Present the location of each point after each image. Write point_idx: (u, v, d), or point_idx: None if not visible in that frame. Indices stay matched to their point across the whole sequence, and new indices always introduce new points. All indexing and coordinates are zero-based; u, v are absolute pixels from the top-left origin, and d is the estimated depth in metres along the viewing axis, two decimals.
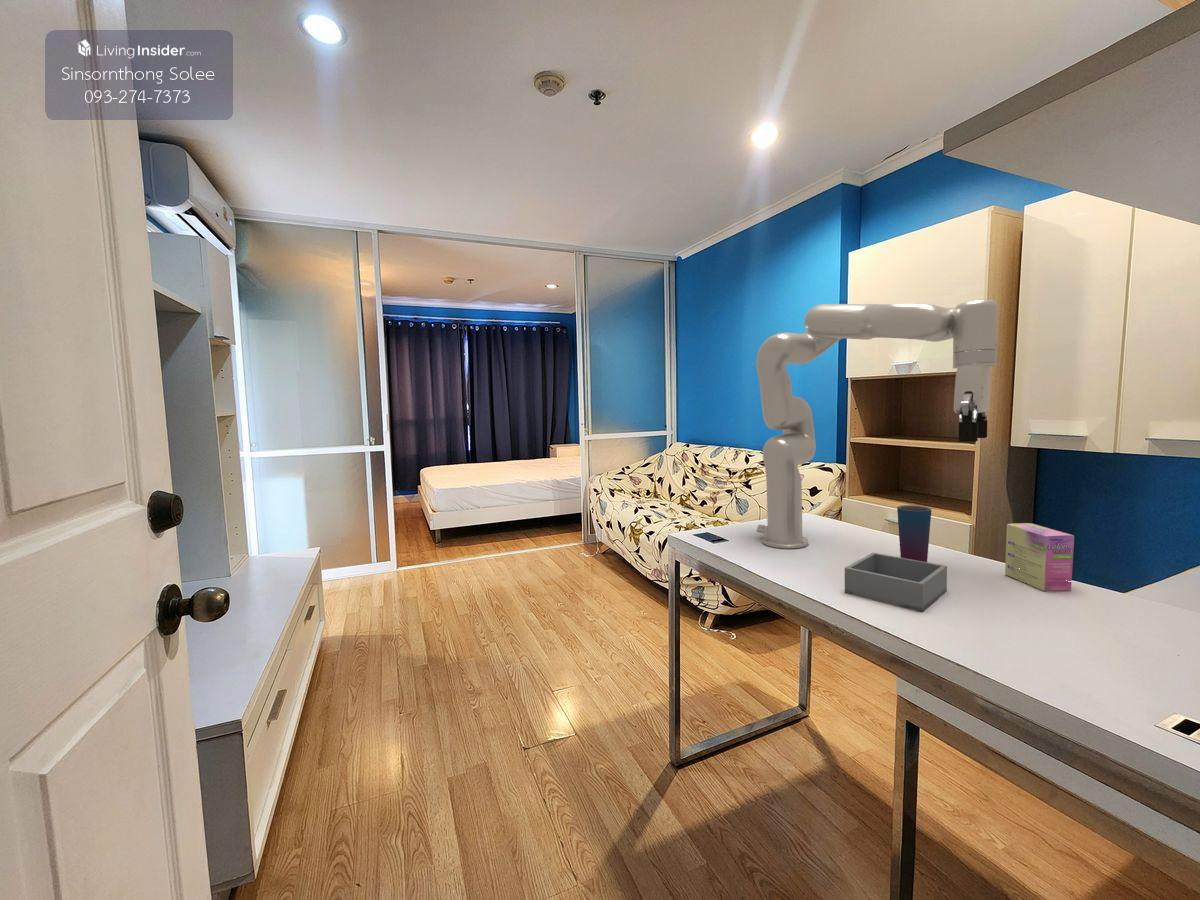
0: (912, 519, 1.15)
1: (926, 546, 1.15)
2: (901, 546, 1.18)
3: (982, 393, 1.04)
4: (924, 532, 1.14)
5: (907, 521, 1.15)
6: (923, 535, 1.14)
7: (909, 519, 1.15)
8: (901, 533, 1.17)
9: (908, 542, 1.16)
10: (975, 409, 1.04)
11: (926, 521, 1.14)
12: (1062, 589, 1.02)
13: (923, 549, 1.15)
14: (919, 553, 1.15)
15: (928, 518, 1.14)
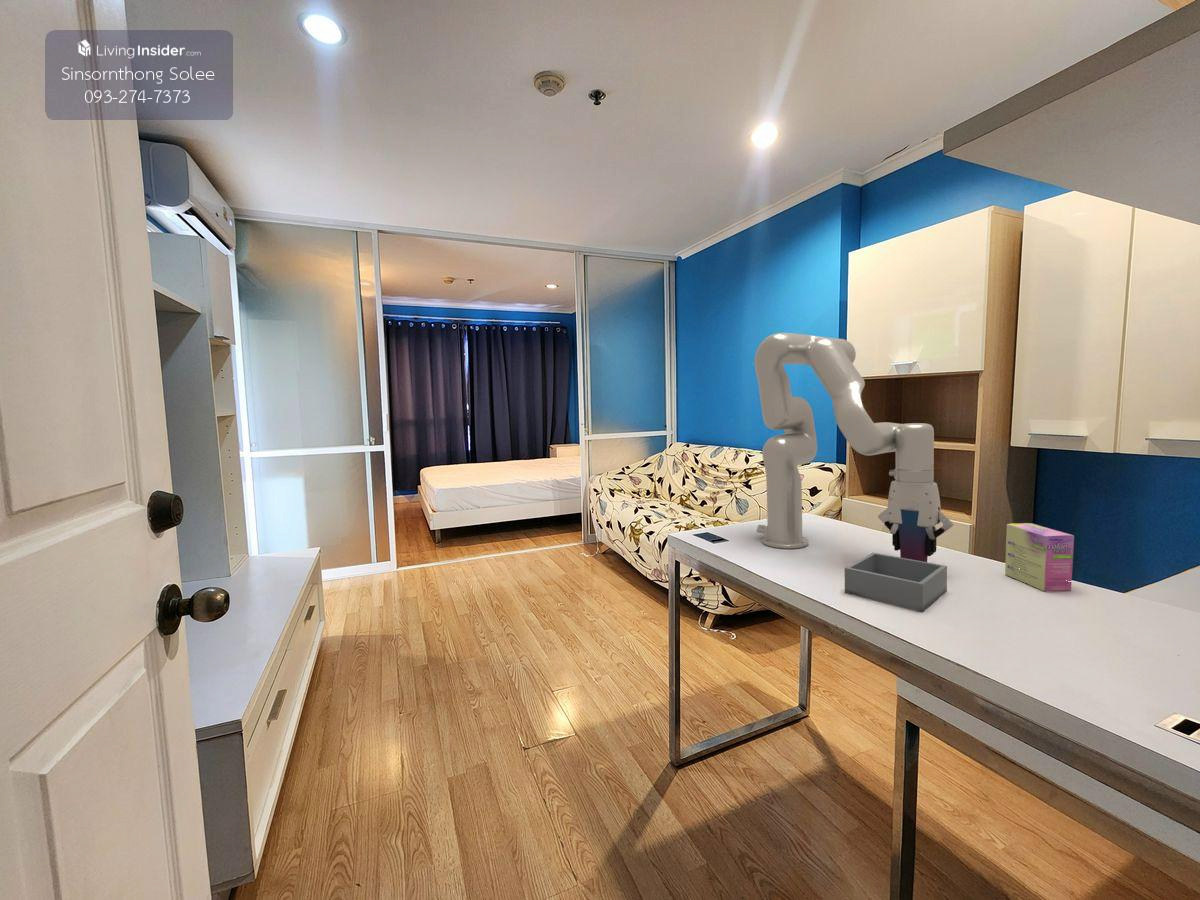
0: (912, 519, 1.15)
1: None
2: (901, 546, 1.18)
3: None
4: (924, 532, 1.14)
5: (907, 521, 1.15)
6: (923, 535, 1.14)
7: (909, 519, 1.15)
8: (901, 533, 1.17)
9: (908, 542, 1.16)
10: None
11: None
12: (1062, 589, 1.02)
13: (923, 549, 1.15)
14: (919, 553, 1.15)
15: None
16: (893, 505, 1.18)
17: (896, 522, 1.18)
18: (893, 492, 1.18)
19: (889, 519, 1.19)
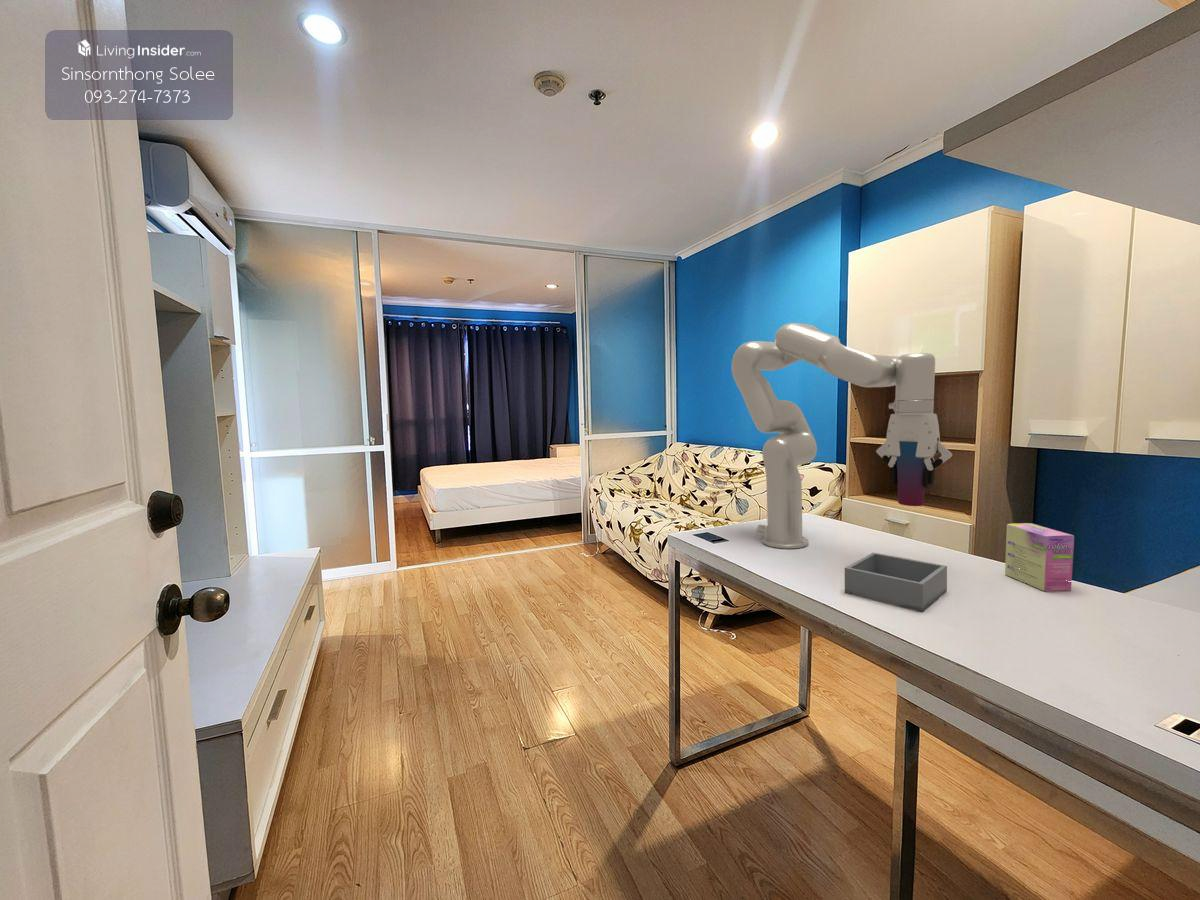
0: (910, 450, 1.13)
1: None
2: (899, 479, 1.17)
3: None
4: (922, 463, 1.13)
5: (906, 453, 1.14)
6: (921, 466, 1.13)
7: (908, 450, 1.14)
8: (899, 466, 1.16)
9: (906, 474, 1.15)
10: (932, 456, 1.14)
11: None
12: (1062, 589, 1.02)
13: (921, 481, 1.14)
14: (917, 485, 1.14)
15: None
16: (892, 437, 1.17)
17: (894, 454, 1.17)
18: (892, 424, 1.16)
19: (887, 452, 1.18)
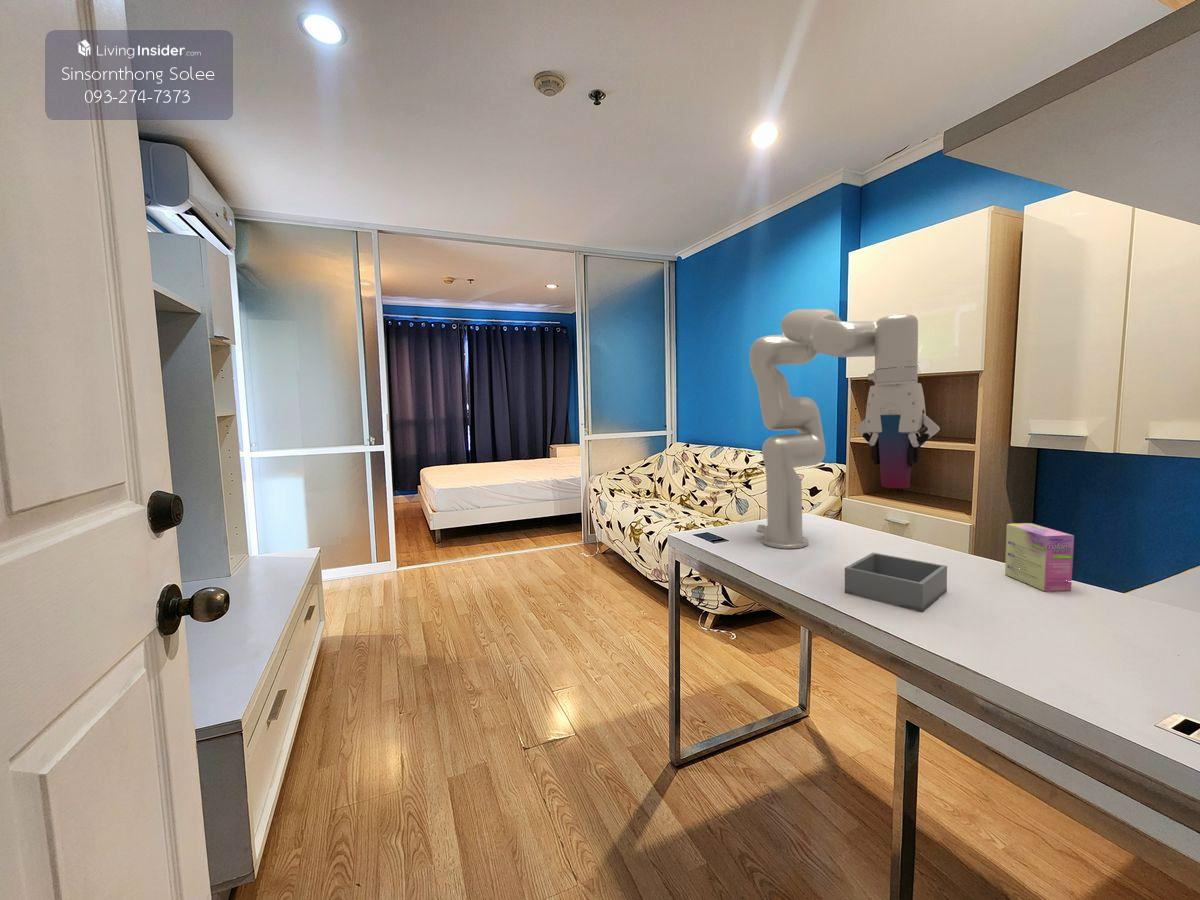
0: (893, 425, 1.00)
1: None
2: (881, 458, 1.04)
3: None
4: (907, 439, 1.00)
5: (888, 428, 1.01)
6: (905, 443, 1.00)
7: (890, 425, 1.01)
8: (881, 443, 1.03)
9: (889, 452, 1.02)
10: (918, 431, 1.01)
11: None
12: (1062, 589, 1.02)
13: (905, 459, 1.01)
14: (901, 464, 1.01)
15: None
16: (872, 411, 1.03)
17: (875, 431, 1.03)
18: (872, 397, 1.03)
19: (867, 428, 1.04)
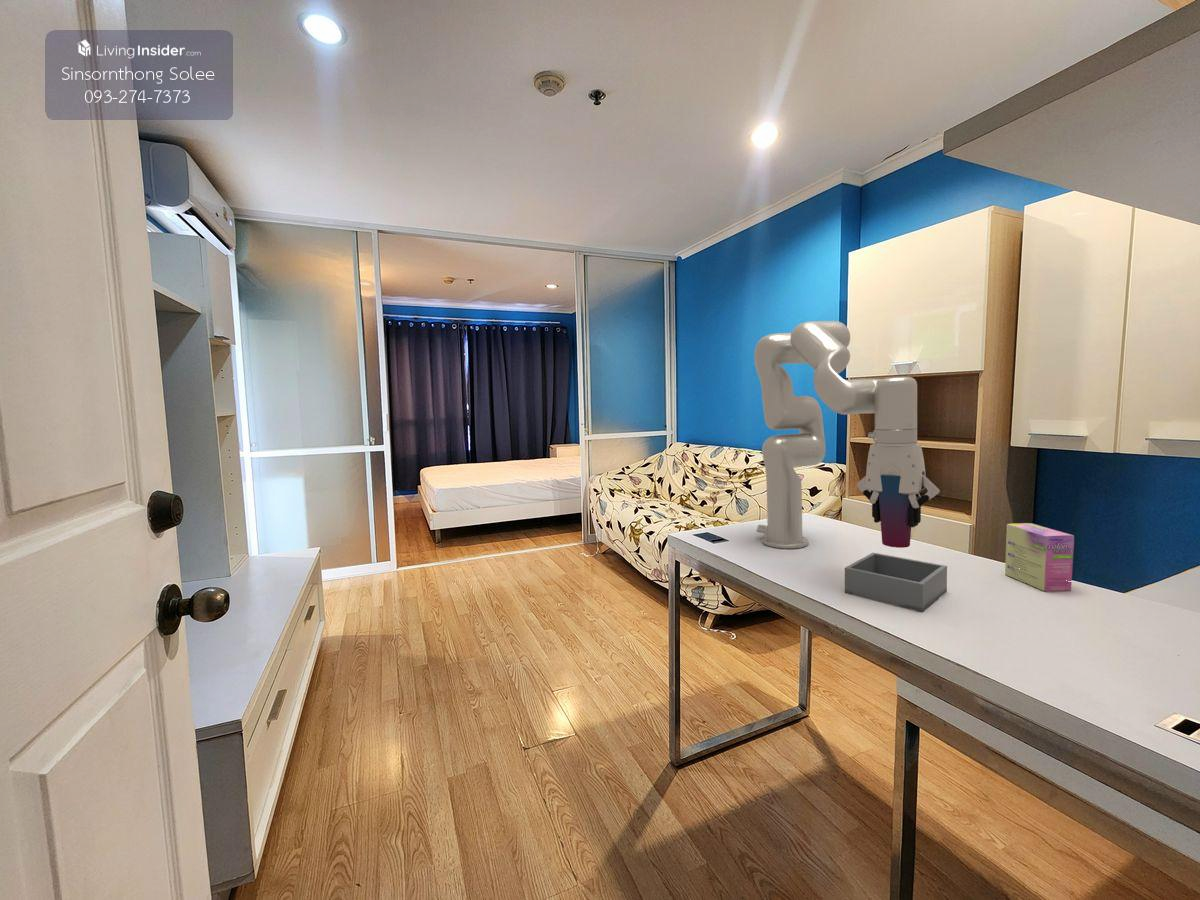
0: (893, 485, 1.01)
1: None
2: (881, 517, 1.04)
3: None
4: (907, 500, 1.01)
5: (888, 488, 1.02)
6: (906, 503, 1.01)
7: (890, 485, 1.01)
8: (881, 502, 1.04)
9: (889, 512, 1.02)
10: (918, 492, 1.02)
11: None
12: (1062, 589, 1.02)
13: (906, 519, 1.02)
14: (901, 524, 1.02)
15: None
16: (872, 471, 1.04)
17: (876, 490, 1.04)
18: (872, 456, 1.04)
19: (868, 487, 1.05)
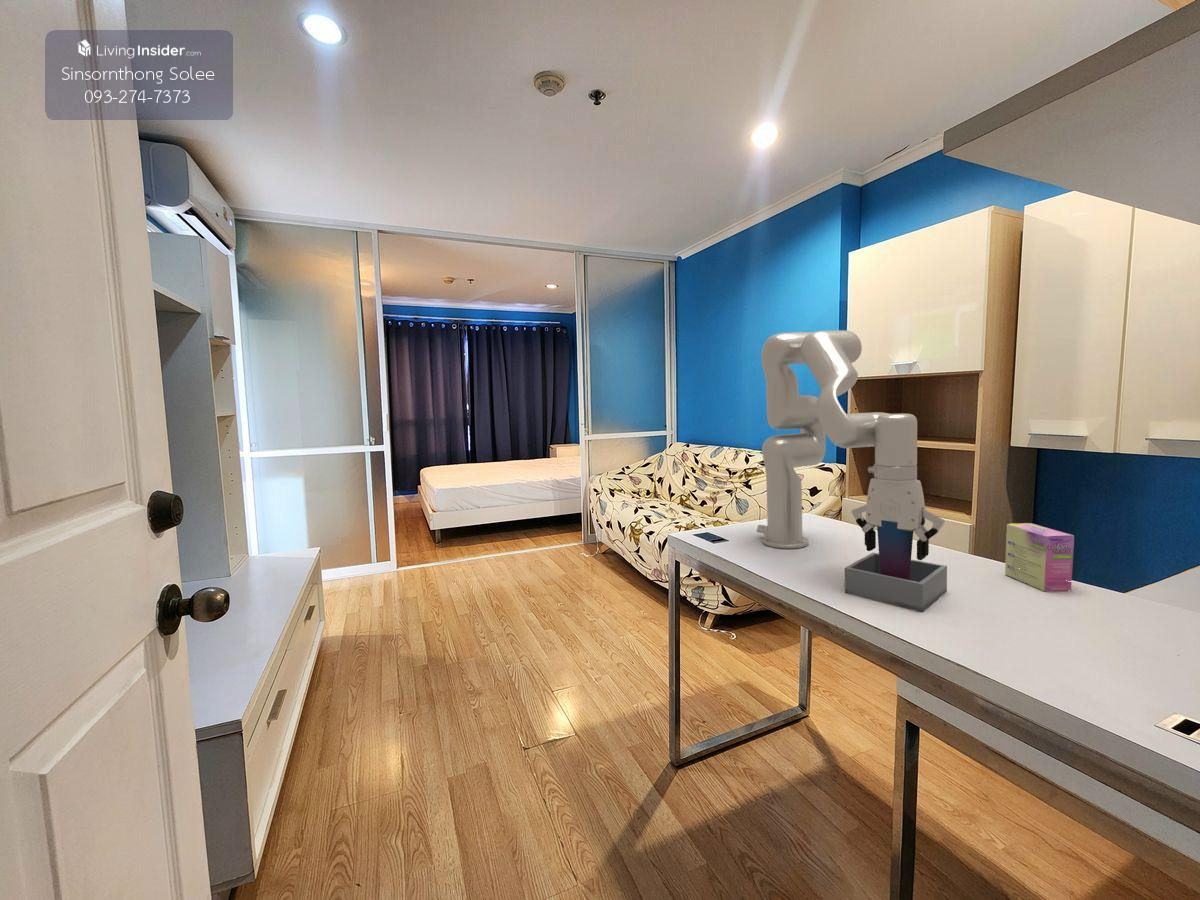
0: (892, 531, 1.02)
1: (908, 561, 1.03)
2: (881, 561, 1.06)
3: None
4: (906, 546, 1.02)
5: (887, 534, 1.03)
6: (905, 549, 1.02)
7: (889, 531, 1.03)
8: (881, 547, 1.05)
9: (888, 557, 1.03)
10: (922, 524, 1.02)
11: (908, 533, 1.02)
12: (1062, 589, 1.02)
13: (905, 565, 1.03)
14: (900, 569, 1.03)
15: None
16: (872, 505, 1.05)
17: (875, 524, 1.05)
18: (872, 491, 1.05)
19: (868, 521, 1.06)
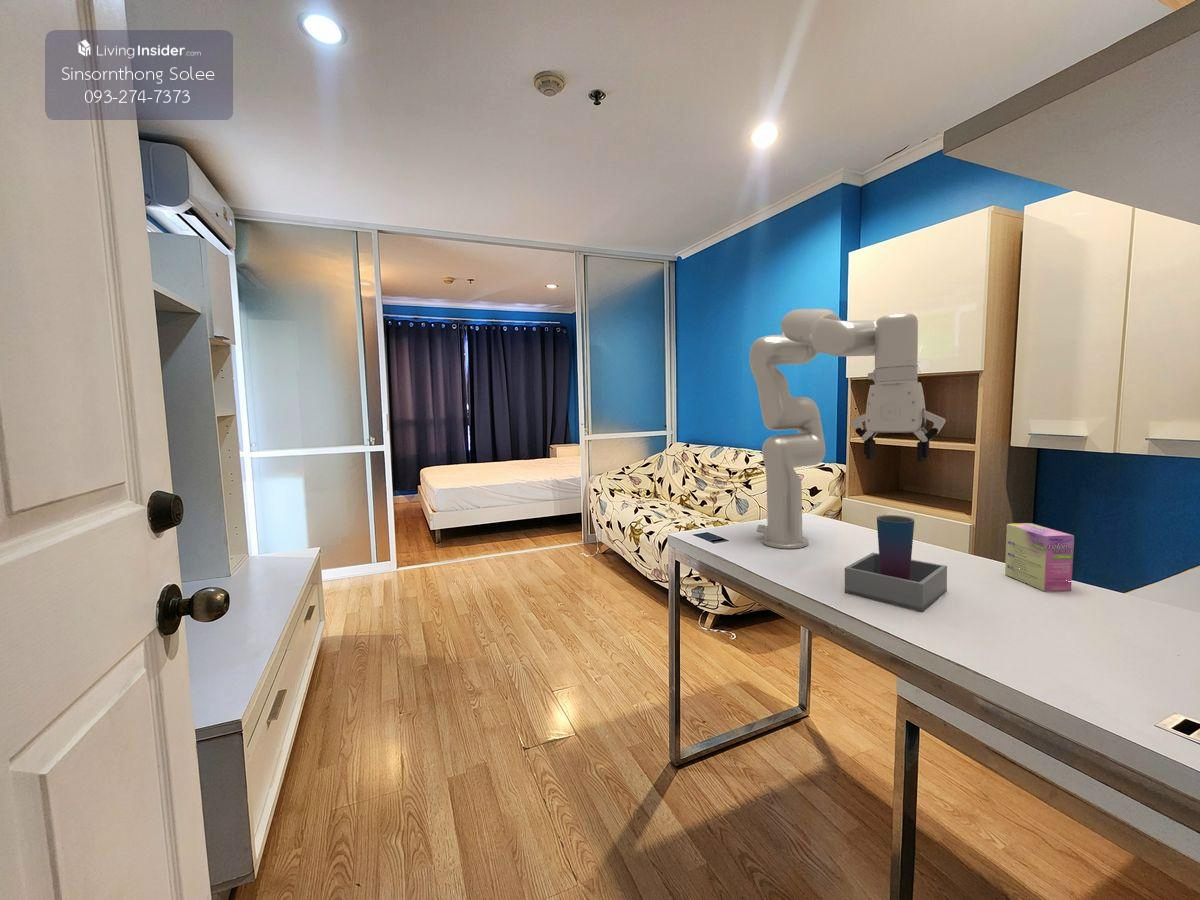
0: (892, 531, 1.02)
1: (908, 561, 1.03)
2: (881, 561, 1.05)
3: None
4: (906, 546, 1.02)
5: (888, 534, 1.03)
6: (905, 549, 1.02)
7: (890, 531, 1.02)
8: (881, 547, 1.05)
9: (888, 557, 1.03)
10: (922, 427, 1.00)
11: (908, 534, 1.02)
12: (1062, 589, 1.02)
13: (905, 565, 1.03)
14: (900, 569, 1.03)
15: (910, 530, 1.02)
16: (872, 411, 1.03)
17: (875, 430, 1.03)
18: (872, 396, 1.03)
19: (867, 428, 1.04)
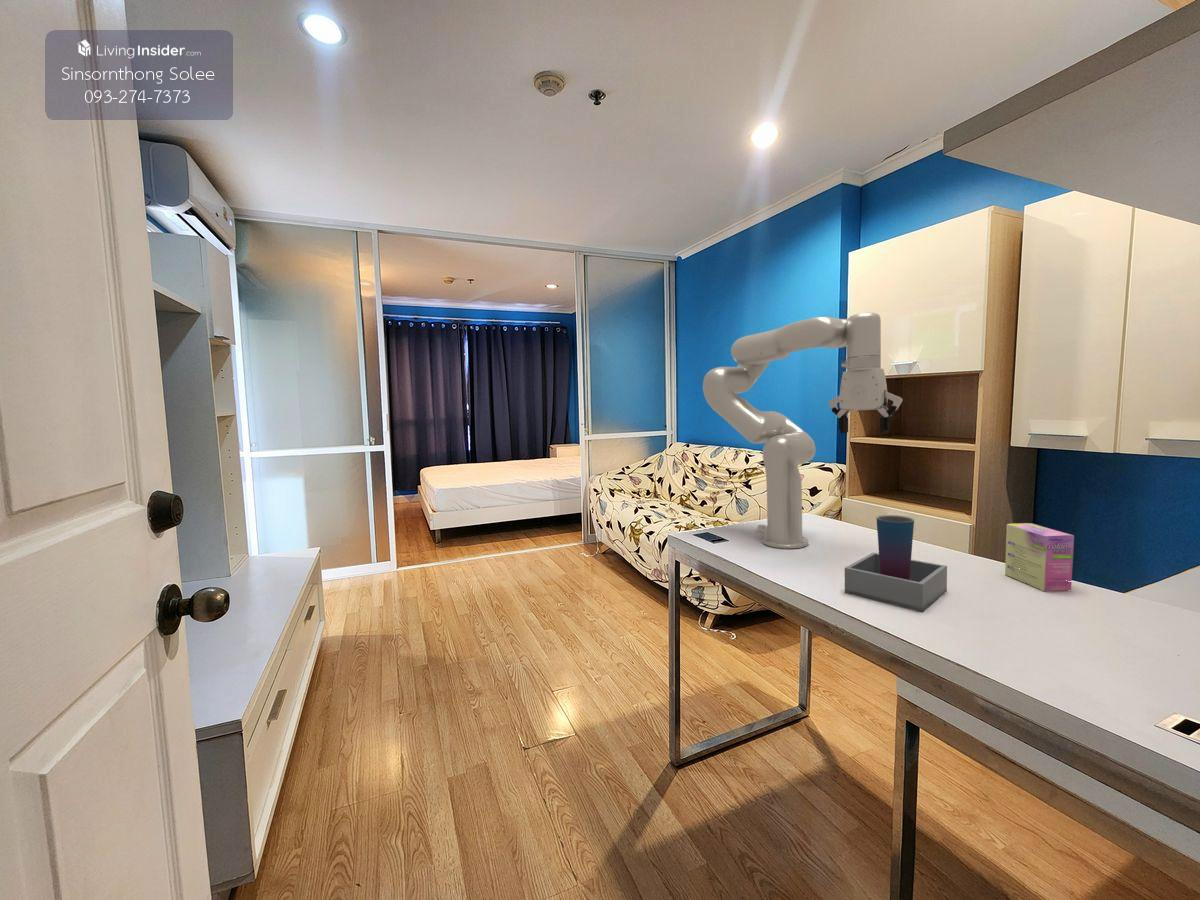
0: (892, 531, 1.02)
1: (908, 561, 1.03)
2: (881, 561, 1.06)
3: None
4: (906, 546, 1.02)
5: (887, 534, 1.03)
6: (905, 549, 1.02)
7: (890, 531, 1.03)
8: (881, 547, 1.05)
9: (888, 557, 1.03)
10: (884, 405, 1.23)
11: (908, 533, 1.02)
12: (1062, 589, 1.02)
13: (905, 565, 1.03)
14: (900, 569, 1.03)
15: (910, 530, 1.02)
16: (844, 392, 1.26)
17: (847, 408, 1.26)
18: (844, 380, 1.26)
19: (841, 407, 1.27)
